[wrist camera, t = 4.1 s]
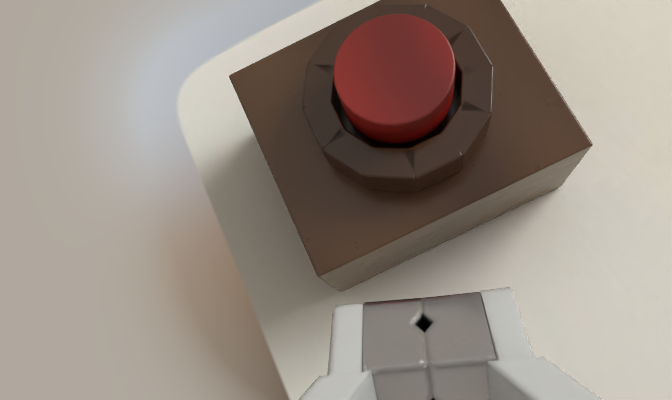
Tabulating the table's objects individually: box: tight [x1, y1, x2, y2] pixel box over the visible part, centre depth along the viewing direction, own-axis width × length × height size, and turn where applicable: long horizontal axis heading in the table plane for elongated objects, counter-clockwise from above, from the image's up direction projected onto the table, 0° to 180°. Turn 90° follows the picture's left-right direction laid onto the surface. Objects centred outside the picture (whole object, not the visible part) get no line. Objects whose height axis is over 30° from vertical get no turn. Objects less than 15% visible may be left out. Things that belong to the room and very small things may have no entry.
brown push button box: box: [229, 0, 592, 291], centre depth 27 cm, size 12×10×8 cm
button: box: [333, 14, 456, 144], centre depth 22 cm, size 4×4×2 cm
